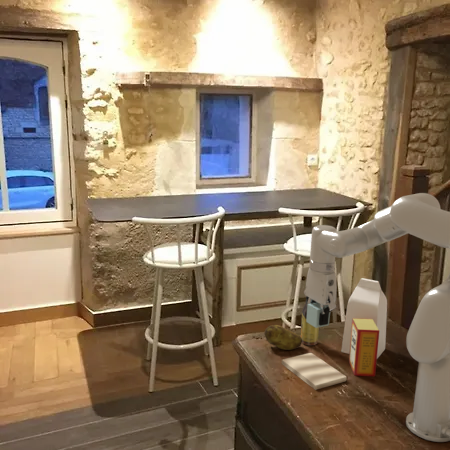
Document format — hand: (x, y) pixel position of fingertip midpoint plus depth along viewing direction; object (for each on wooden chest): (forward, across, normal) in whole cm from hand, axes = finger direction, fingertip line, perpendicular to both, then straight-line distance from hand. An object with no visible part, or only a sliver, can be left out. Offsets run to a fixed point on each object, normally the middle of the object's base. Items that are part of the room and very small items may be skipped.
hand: (317, 320), depth 162 cm
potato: (+18, +19, -1) cm, 27 cm away
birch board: (+18, 0, 0) cm, 18 cm away
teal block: (+1, 0, 0) cm, 1 cm away
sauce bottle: (+18, +18, -12) cm, 28 cm away
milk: (+18, +5, -26) cm, 32 cm away
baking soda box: (+18, -5, -16) cm, 24 cm away
